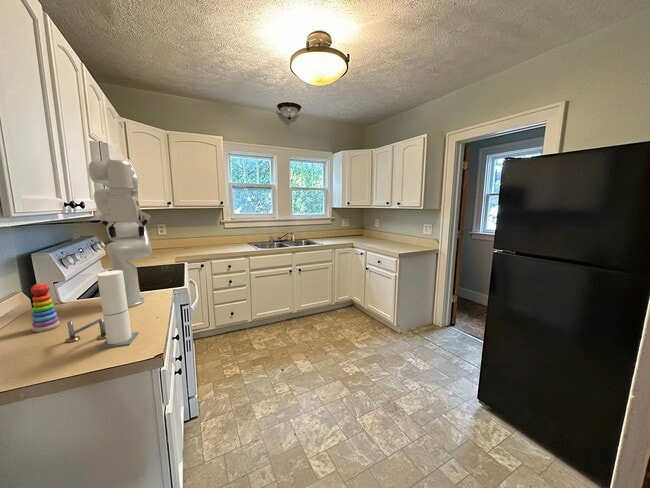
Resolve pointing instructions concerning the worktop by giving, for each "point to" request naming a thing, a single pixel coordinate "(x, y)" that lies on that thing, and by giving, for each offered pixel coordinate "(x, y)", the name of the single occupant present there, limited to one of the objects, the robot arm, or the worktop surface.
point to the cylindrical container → (114, 306)
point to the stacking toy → (43, 309)
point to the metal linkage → (72, 332)
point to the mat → (128, 342)
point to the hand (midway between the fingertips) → (127, 236)
